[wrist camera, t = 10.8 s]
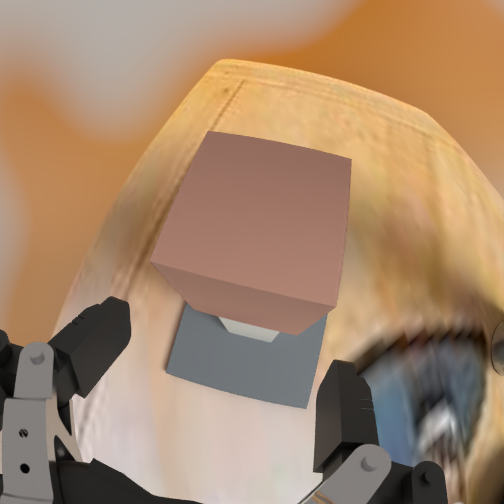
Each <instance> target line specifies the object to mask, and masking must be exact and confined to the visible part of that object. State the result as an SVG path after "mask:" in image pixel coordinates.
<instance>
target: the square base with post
mask: <svg viewBox="0 0 504 504" xmlns="http://www.w3.org/2000/svg"><path fill="white" fill-rule="evenodd" d="M327 314H328V313H327ZM327 314H326V315H325V316H323V317H322V318H321V319H319V320H318V321H317V322H315V323H314V324H312V325H311V326H310V327H308V328H307V329H306V330H304V331H303V332H301V333H300V334H298V335H292V334H288V333H283V332H279V331H274V330H270V329H266V328H261V327H257V326H253V325H249V324H245V323H241V322H237V321H233V320H229V319H226V318H222V317H218V316H214V315H211V314H207V313H203V312H200V311H196V310H194V309H193V308H192V307H191V306H190V305H189V304H188V303H186V306H185V309H184V312H183V316H182V319H181V322H180V325H179V329H178V332H177V335H176V339H175V342H174V346H173V349H172V353H171V356H170V360H169V363H168V367H167V370H166V373H167V374H170V375H173V376H176V377H179V378H182V379H185V380H188V381H191V382H194V383H197V384H201V385H204V386H207V387H211V388H214V389H218V390H221V391H225V392H229V393H233V394H237V395H241V396H245V397H249V398H253V399H257V400H262V401H266V402H271V403H276V404H281V405H286V406H292V407H298V408H304V409H306V408H307V404H308V401H309V397H310V393H311V389H312V385H313V381H314V376H315V372H316V368H317V363H318V359H319V354H320V350H321V345H322V340H323V335H324V330H325V325H326V319H327Z"/></svg>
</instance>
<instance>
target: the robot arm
mask: <svg viewBox="0 0 504 504" xmlns="http://www.w3.org/2000/svg"><path fill="white" fill-rule="evenodd" d="M130 338H131V322H130V307H129V304H128V302H126V301H123V300H121V299H118V298H115V297H113V296H110V297H108V298H107V299H106V300H105V301H104V302H103V303H101V304H100V305H99V304H96V305H93V306H91V307H88V308H86V309H85V310H84V311H83V312H82V313H80V314H79V315H78V317H76V318H75V319H73V320H72V322H71V323H69V324H68V325H67V326H66V327H64V328H63V329H62V330H61V331H60V332H59V333H58V334H57V335H55V336H54V337H53V338H52V339H51V340H50V341H49V342H48V343H44V342H33V343H30V344H28V345H26V346H25V347H22V346H18V345H15V344H12V343H10V341H9V339H8V336H7V334H6V333H5V332H4V331H2V330H0V431H1V430H2V470H3V474H0V504H202V503H199V502H195V501H189V500H180V499H172V498H165V497H159V496H155V495H152V494H150V493H149V492H147V491H146V490H145V489H143V488H142V487H140V486H139V485H138V484H136V483H135V482H133V481H132V480H131V479H129V478H128V477H127V476H126V475H124V474H123V473H121V472H119V471H117V470H115V469H113V468H111V467H109V466H107V465H105V464H103V463H101V462H100V461H98V460H96V459H94V458H93V460H92V461H91V463H85V462H83V461H82V457H81V453H80V451H79V448H78V445H77V442H76V436H75V427H74V416H73V402H72V397H73V395H74V394H75V393H76V394H78V395H79V396H81V397H83V398H84V399H85V398H86V396H87V395H88V394H89V393H90V391H91V390H92V389H93V387H94V386H95V385H96V384H97V382H98V381H99V380H100V379H101V377H102V376H103V375H104V374H105V372H106V371H107V370H108V369H109V367H110V366H111V365H112V364H113V362H114V361H115V360H116V359H117V357H118V356H119V355H120V354H121V353H122V351H123V350H124V349H125V348H126V346H127V345H128V343H129V341H130ZM491 352H492V361H493V365H494V367H495V369H496V371H497V372H498V373H499V374H500V375H503V376H504V321H503V322H501V323H500V324H499V325H498V327H497V328H496V330H495V332H494V336H493V340H492V348H491ZM373 409H374V407H373V402H372V395H371V389H370V387H369V386H368V384H367V382H366V381H365V379H364V378H361V377H357V375H356V368H355V364H354V363H353V362H347V361H341V360H336V359H335V360H333V362H332V363H331V365H330V367H329V369H328V371H327V373H326V375H325V377H324V379H323V381H322V383H321V385H320V387H319V390H318V393H317V398H316V426H315V448H314V465H313V472H316V473H323V479H322V481H321V482H320V483H319V484H318V485H317V486H316V487H315V488H314V489H313V490H312V491H311V492H310V493H309V494H308V495H306V496H305V497H304V498H303V499H302V500H301V501H300V502H299V503H297V504H448V499H447V490H446V483H445V476H444V472H443V470H442V469H441V467H440V466H439V465H438V464H436V463H434V462H431V461H423V462H421V463H419V464H418V465H416V466H415V467H414V468H413V467H409V466H406V465H402V464H399V463H395V462H393V461H391V459H390V457H389V455H388V453H387V452H386V451H385V450H384V449H383V448H381V447H380V446H379V441H378V434H377V427H376V420H375V413H374V411H373Z"/></svg>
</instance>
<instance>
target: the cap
mask: <svg viewBox="0 0 504 504" xmlns="http://www.w3.org/2000/svg"><path fill="white" fill-rule="evenodd" d="M350 179H351V159H349V158H345V157H342V156H338V155H334V154H330V153H326V152H322V151H318V150H314V149H309V148H305V147H300V146H296V145H291V144H286V143H281V142H276V141H271V140H265V139H260V138H254V137H248V136H242V135H235V134H228V133H221V132H213V131H208V132H207V134H206V136H205V138H204V140H203V142H202V143H201V145H200V147H199V149H198V151H197V153H196V155H195V157H194V159H193V162H192V164H191V166H190V168H189V170H188V172H187V174H186V176H185V178H184V180H183V182H182V185H181V187H180V189H179V191H178V193H177V196H176V198H175V200H174V202H173V205H172V207H171V209H170V211H169V214H168V216H167V218H166V221H165V223H164V226H163V228H162V230H161V233H160V235H159V238H158V240H157V243H156V245H155V248H154V250H153V253H152V255H151V258H150V262H151V264H152V265H153V266H154V267H155V268H156V269H157V270H158V271H159V273H160V274H161V275H162V276H163V277H164V278H165V279H166V280H167V281H168V283H169V284H170V285H171V286H172V287H173V288H174V289H175V290H176V291H177V292H178V293H179V294H180V295H181V296H182V298H183V299H184V300H185V301H186V302H187V303H188V304H189V305H190V306H191V307H192V308H193V309H194V310H196V311H200V312H203V313H207V314H211V315H214V316H218V317H222V318H226V319H229V320H233V321H237V322H241V323H245V324H249V325H253V326H257V327H261V328H266V329H270V330H274V331H279V332H283V333H288V334H292V335H298V334H300V333H301V332H303V331H304V330H306V329H307V328H308V327H310V326H311V325H312V324H314V323H315V322H317V321H318V320H319V319H321V318H322V317H323V316H325V315H326V314H327V313H329V312H330V311H331V310H333V309H334V308H335V307H336V305H337V298H338V292H339V286H340V279H341V272H342V264H343V256H344V248H345V239H346V230H347V219H348V208H349V195H350Z"/></svg>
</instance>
